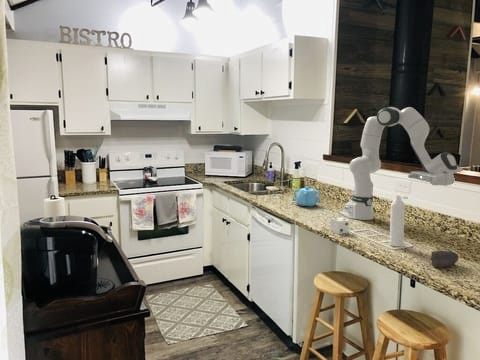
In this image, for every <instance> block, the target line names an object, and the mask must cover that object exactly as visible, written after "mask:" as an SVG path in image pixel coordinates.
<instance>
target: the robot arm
mask: <svg viewBox="0 0 480 360" xmlns="http://www.w3.org/2000/svg"><path fill="white" fill-rule="evenodd" d="M397 125H401V126H402V127H403V128H404V130H405V131H406V132H407V135H408V136H409V139H410V143H409V144H410V146H411V148H412V150H413V152H414V153H415V156H416V157H417V159H418V161H419V164H421V166H422V170H423V171H410V173H409V174H407V177H408V178H409V179H414V180H418V181H421V182H426V183H427V182H428V183H430V185H432V186H445V187H446V186H451V184H453V183H454V181H455V178H454V175H453V174H454V173H457V172H461V171H464V170H463V169H462V168H460V167H459V165H458V163H457V159H456V157H455V155H453V154H451V153H450V152H447V151H443V152H441V153H440V154H438V155H437V156H435V157H434V158H431V156H430V155H429V153H428V151H427V150H426V148H425V142H426V140H427V137H428V136H429V133H430V126H429V123H428V122H427V121H426V119H425V118H424V117H423V115H421V114H420V113H419V112H418V111H417V110H416V109H415V108H414V107H411V106H408V107H404V108H403V109H400V108H398V107H395V106H388V107H384V108H381V109H380V110H379V111H378V112H377V114H376V115H375V116H369V117H368V118H367V119H366V122H365V124H364V126H363V127H364V128H363V130H362V135H361V139H360V146H359V147H360V148H361V151H362V156H358V157H356V158H354V159H352V160H351V161H350V162H349V165H348V166H349V168H348V169H349V171H350V172H351V173H352V176H353V179H354V192H353V195H350V196H351V200H350V201H348V202H346V203H345V204H344V206H343V210H340V211H339V213H338V214H340V215H342V216H345V218H349V220H351V219H352V220H361V221H370V220H374V214H373V213H374V211H373V210H374V209H373V202H374V196H373V193H374V183H373V182H372V179H371V174H374V173H376V172H378V171H379V170H380V169H381V168H382V161H381V159H380V144H381V140H382V134H383V131H384V128H385V127H394V126H397Z"/></svg>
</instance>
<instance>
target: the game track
mask: <svg viewBox="0 0 480 360" xmlns="http://www.w3.org/2000/svg"><path fill="white" fill-rule="evenodd" d="M364 231H365V232H366V231H370V232H373V233H376V234H369V235H361V234H359V233H357V232H364ZM349 233H352V234H354V235H356V236H359V237H360V236H361V237H360V238H363V239H366V240H369V241H370V242H372V243H376V244H377V245H380V246H383V247H385V248H388V249H390V250H393V251H395V250H400V249H406V248H412V247H415V245H414V244H411V243H408V242H406V241H403V246H401V247H400V246H399V247H397V246H395V247H393V246H392V247H391V246H389V245H386V244H385V243H389V240H390V235H387V234H385V233H381V232H380V231H379V232H378V231H376V230H373V229H371V228H364V229H355V230H349ZM379 236H383V237H386V238H389V239H388V240H381V241H376V240H374V239H373V238H371V237H379ZM404 244H405V245H404Z"/></svg>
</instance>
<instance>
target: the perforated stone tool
mask: <svg viewBox="0 0 480 360" xmlns="http://www.w3.org/2000/svg"><path fill="white" fill-rule="evenodd" d="M458 260H459V254H457V253H456V252H454V251H451V250H434V251H431V255H430V261H431V265H432V267H434V268H447V267H449V266H453V265H455V264H456V263H457V262H458Z"/></svg>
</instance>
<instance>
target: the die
mask: <svg viewBox="0 0 480 360" xmlns="http://www.w3.org/2000/svg"><path fill="white" fill-rule="evenodd" d="M349 231H350V219H346V218H344V217H342V216H341V217H331V218H330V232H334V233H335V234H337V235H340V234H341V233H342V234H349V233H350V232H349Z"/></svg>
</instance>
